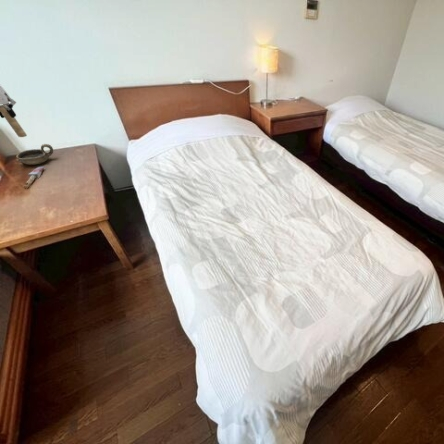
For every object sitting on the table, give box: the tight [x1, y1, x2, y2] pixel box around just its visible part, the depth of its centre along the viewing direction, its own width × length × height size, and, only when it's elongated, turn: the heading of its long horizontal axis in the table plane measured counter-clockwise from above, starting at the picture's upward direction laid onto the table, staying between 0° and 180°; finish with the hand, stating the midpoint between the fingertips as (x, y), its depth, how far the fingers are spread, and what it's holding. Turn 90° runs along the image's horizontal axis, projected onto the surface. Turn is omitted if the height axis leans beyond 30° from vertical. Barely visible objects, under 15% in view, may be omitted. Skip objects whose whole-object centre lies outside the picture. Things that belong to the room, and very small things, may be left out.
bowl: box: [16, 143, 54, 166], centre depth 146 cm, size 14×18×10 cm
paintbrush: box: [22, 165, 45, 190], centre depth 137 cm, size 4×3×20 cm
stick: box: [0, 104, 28, 138], centre depth 132 cm, size 4×4×16 cm
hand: (9, 116), depth 130 cm, fingers closed on stick, 3 cm apart
